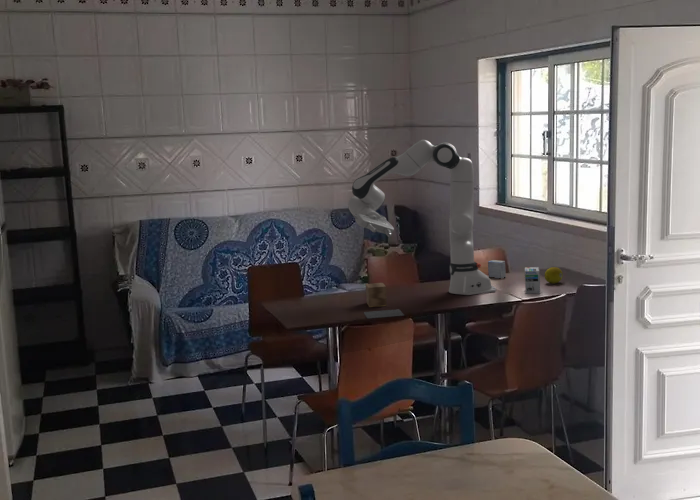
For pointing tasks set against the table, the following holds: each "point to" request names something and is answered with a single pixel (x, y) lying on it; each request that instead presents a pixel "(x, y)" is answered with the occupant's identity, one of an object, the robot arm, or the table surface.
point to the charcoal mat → (383, 313)
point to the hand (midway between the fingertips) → (382, 233)
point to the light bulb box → (532, 280)
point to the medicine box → (496, 269)
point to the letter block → (376, 294)
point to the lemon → (553, 275)
